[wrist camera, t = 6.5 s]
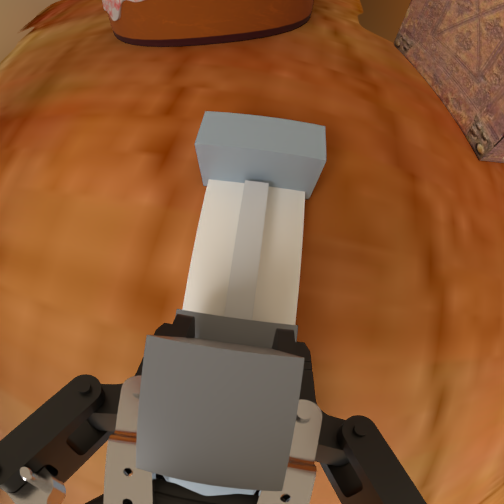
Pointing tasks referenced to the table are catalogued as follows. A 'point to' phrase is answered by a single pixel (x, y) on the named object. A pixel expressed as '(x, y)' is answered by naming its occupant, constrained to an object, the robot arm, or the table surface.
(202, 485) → the rail
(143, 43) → the cake
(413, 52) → the book
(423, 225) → the table surface
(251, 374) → the block
